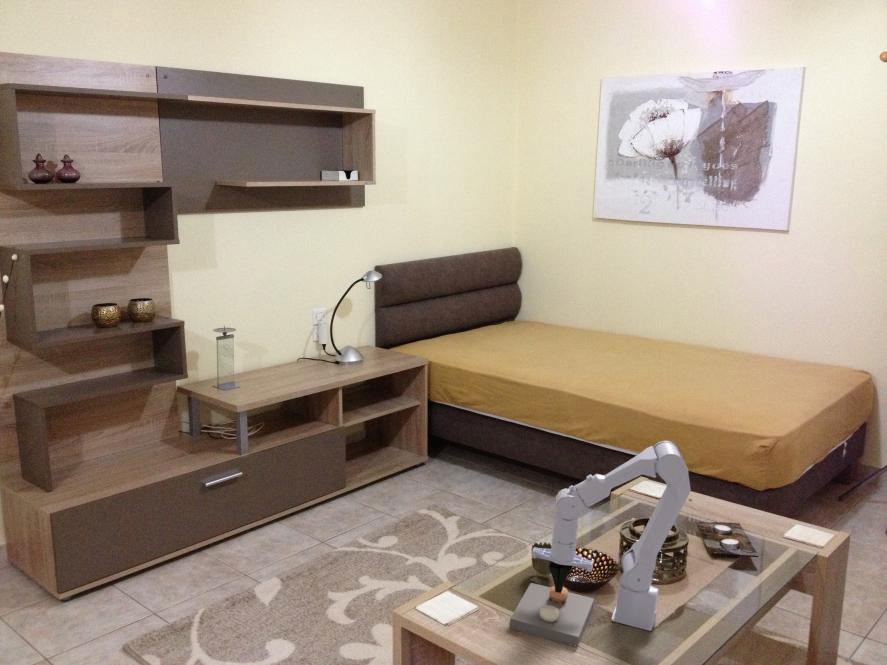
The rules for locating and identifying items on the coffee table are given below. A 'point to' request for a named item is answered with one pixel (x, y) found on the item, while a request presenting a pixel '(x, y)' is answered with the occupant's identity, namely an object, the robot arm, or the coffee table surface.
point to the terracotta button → (558, 595)
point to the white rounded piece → (549, 613)
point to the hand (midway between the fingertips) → (558, 590)
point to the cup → (541, 562)
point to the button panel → (562, 630)
